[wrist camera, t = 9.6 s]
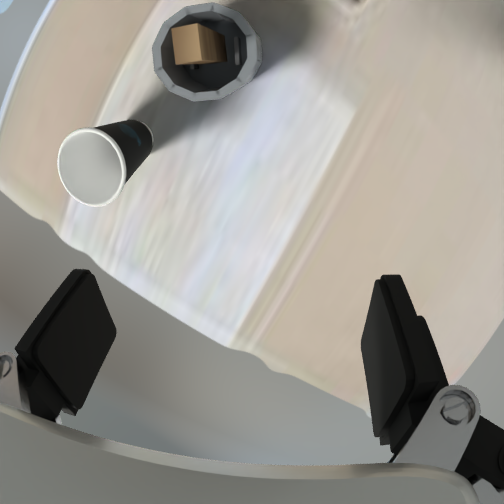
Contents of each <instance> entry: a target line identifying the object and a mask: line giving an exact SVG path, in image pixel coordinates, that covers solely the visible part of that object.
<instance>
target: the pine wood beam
mask: <svg viewBox="0 0 504 504" xmlns="http://www.w3.org/2000/svg"><path fill="white" fill-rule="evenodd" d="M171 31H172V39H173V47H174V55H175V63H176V65H180V64H213V63H220V62H228V60H227V51H226V43H225V36H224V35H222V34H220V33H218V32H216V31H214V30H211V29H209V28H207V27H205V26H202V25H200V24H198V23H196V24H191V25H186V26H181V27H176V28H172V29H171Z"/></svg>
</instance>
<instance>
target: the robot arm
mask: <svg viewBox="0 0 504 504" xmlns="http://www.w3.org/2000/svg"><path fill="white" fill-rule="evenodd" d="M115 337H116V327H115V325H114V323H113V320H112V318H111V316H110V313H109V311H108V309H107V306H106V304H105V301H104V299H103V296H102V294H101V291H100V289H99V286H98V284H97V281H96V278H95V276H94V275H93V274H91V272H90V271H89V270H85V269H74V270H73V271H72V272H71V273H70V274H69V275H68V276H67V278H66V279H65V280H64V281H63V283H62V284H61V285H60V287H59V288H58V289H57V291H56V292H55V293H54V294H53V296H52V297H51V298H50V300H49V301H48V302H47V304H46V305H45V306H44V307H43V309H42V310H41V312H40V313H39V314H38V316H37V317H36V318H35V320H34V321H33V323H32V324H31V325H30V327H29V328H28V330H27V331H26V333H25V334H24V335H23V337H22V338H21V340H20V341H19V343H18V344H17V346H16V347H15V350H16V352H17V353H18V354H19V355H18V356H17V358H16V357H15V355H14V354H13V353H11V352H3V353H0V504H504V430H503V429H502V428H500V427H498V426H497V425H495V424H493V423H492V422H490V421H489V420H487V419H485V418H483V417H482V416H480V411H481V410H480V403H479V401H478V399H477V397H476V396H475V394H474V393H473V392H472V391H471V390H469V389H467V388H466V387H463V386H460V385H450V386H449V384H448V381H447V378H446V375H445V372H444V369H443V366H442V363H441V360H440V357H439V355H438V352H437V349H436V346H435V344H434V341H433V338H432V336H431V333H430V330H429V328H428V325H427V323H426V320H425V319H424V317H423V316H417V314H416V311H415V309H414V306H413V304H412V301H411V299H410V296H409V294H408V291H407V289H406V287H405V284H404V282H403V280H402V277H401V276H400V275H382V276H381V279H378V280H376V281H375V283H374V288H373V293H372V297H371V302H370V306H369V310H368V315H367V319H366V323H365V327H364V331H363V335H362V339H361V351H362V357H363V363H364V369H365V375H366V381H367V388H368V395H369V402H370V409H371V416H372V424H373V432H374V436H375V437H380V445H388V444H390V449H391V452H392V453H394V454H393V455H392V457H391V458H390V460H389V461H388V462H387V463H375V464H353V465H352V464H351V465H327V466H325V465H324V466H297V465H296V466H294V465H264V464H248V463H235V462H226V461H216V460H209V459H201V458H194V457H188V456H181V455H175V454H170V453H164V452H159V451H154V450H149V449H145V448H140V447H136V446H131V445H127V444H124V443H119V442H116V441H112V440H108V439H105V438H101V437H98V436H94V435H91V434H87V433H84V432H81V431H78V430H75V429H72V428H69V427H66V426H63V425H62V421H61V418H60V414H59V413H60V411H61V410H62V411H63V412H64V413H68V414H71V415H74V416H76V413H77V411H78V409H81V408H82V406H83V404H84V402H85V400H86V398H87V395H88V393H89V391H90V389H91V387H92V385H93V383H94V380H95V378H96V376H97V374H98V372H99V370H100V368H101V366H102V364H103V361H104V359H105V358H106V355H107V354H108V352H109V349H110V348H111V345H112V344H113V342H114V339H115Z"/></svg>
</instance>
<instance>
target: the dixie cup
mask: <svg viewBox="0 0 504 504" xmlns="http://www.w3.org/2000/svg"><path fill="white" fill-rule="evenodd" d="M153 141H154V139H153V134H152V131H151V129H150V128H149V127H148V126H147V125H146V124H145V123H143V122H141V121H137V120H126V121H121V122H117V123H112V124H108V125H103V126H99V127H95V128H80V129H77V130H75V131H73V132H72V133H70V134H69V135H68V136H67V137H66V138H65V140H64V141H63V143H62V144H61V147H60V149H59V153H58V161H57V164H58V172H59V176H60V179H61V181H62V183H63V185H64V187H65V188H66V190H67V191H68V193H69V194H70V195H71V196H72V197H73V198H75V199H76V200H77V201H79V202H81V203H82V204H85V205H88V206H93V207H100V206H105V205H107V204H110V203H111V202H113V201H114V200H115V199H116V198H117V197H118V196H119V195H120V193H121V192H122V190H123V187H124V184H125V183H126V182H127V181H128V179H129V178H130V177H131V176H132V175H133V173H134V172H135V171H136V170H137V169H138V167H139V166H140V165H141V164H142V163H143V161H144V160H145V159H146V158H147V157H148V155H149V154H150V152H151V150H152V146H153Z"/></svg>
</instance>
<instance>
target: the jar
mask: <svg viewBox="0 0 504 504" xmlns="http://www.w3.org/2000/svg"><path fill="white" fill-rule="evenodd" d="M196 23H198V24H200V25H202V26H205V27H207V28H209V29H211V30H214V31H216V32H218V33H220V34H222V35H224V36H225V43H226V51H227V60H228V62H220V63H213V64H180V65H176V63H175V55H174V47H173V39H172V31H171V29H172V28H176V27H181V26H186V25H191V24H196ZM152 52H153V63H154V71H155V73H156V74H157V76H158V77H159V78H160V80H161V81H162V82H163V84H164V85H165V86H166V88H167V89H168V91H170V92H172V93H174V94H176V95H179V96H181V97H184V98H186V99H188V100H190V101H193V102H195V101H205V100H217V99H222V98H224V97H225V96H227V95H229V94H231V93H233V92H235V91H236V90H238V89H239V88H241V87H243V86H244V85H246V84H247V83H249V82H251V81H252V79H253V77H254V76H255V74H256V73H257V71H258V69H259V67H260V65H261V63H262V62H261V61H262V46H261V39H260V38H259V36H258V35H257V34H256V32H255V31H254V30H253V28H252V27H251V25H250V24H249V23H248V22H247V20H246V19H245V18H244V17H243V16H242V15H241V13H240V12H238V11H235V10H233V9H230V8H227V7H225V6H222V5H219V4H217V3H205V4H198V5H192V6H186V7H184V8H183V9H181V10H180V11H179V12H177V13H176V14H174V15H173V16H172V17H170V18H169V19H168V20H166V21H165V22H164V23H163V24H162V27H161V29H160V31H159V33H158V35H157V37H156V39H155V41H154V43H153V47H152Z"/></svg>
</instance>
